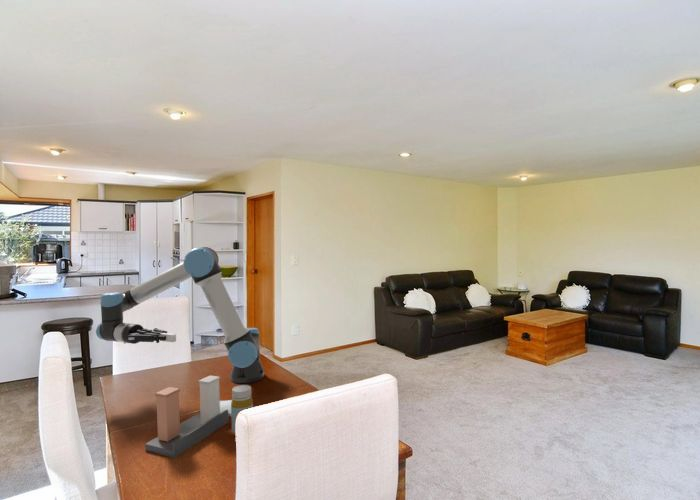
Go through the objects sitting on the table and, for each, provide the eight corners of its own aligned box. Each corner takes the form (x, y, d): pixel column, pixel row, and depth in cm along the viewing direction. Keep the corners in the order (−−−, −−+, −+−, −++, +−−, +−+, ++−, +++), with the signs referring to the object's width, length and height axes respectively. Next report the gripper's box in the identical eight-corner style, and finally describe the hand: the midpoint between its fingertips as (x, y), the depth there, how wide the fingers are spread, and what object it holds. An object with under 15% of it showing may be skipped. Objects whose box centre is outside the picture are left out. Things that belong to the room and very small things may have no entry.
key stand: (201, 416, 143) (201, 404, 143) (228, 422, 139) (228, 409, 139) (145, 450, 121) (144, 436, 121) (174, 457, 117) (174, 443, 117)
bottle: (231, 439, 127) (230, 393, 127) (232, 429, 134) (230, 385, 133) (254, 435, 129) (252, 390, 128) (253, 425, 136) (251, 383, 135)
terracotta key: (170, 431, 128) (169, 386, 128) (181, 433, 126) (179, 388, 126) (157, 439, 123) (155, 393, 123) (167, 442, 121) (165, 395, 121)
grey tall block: (211, 416, 138) (209, 375, 138) (221, 418, 136) (219, 376, 136) (199, 423, 133) (198, 380, 133) (210, 425, 131) (208, 382, 131)
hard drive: (230, 413, 143) (236, 399, 156) (207, 415, 142) (214, 400, 155) (230, 418, 143) (236, 403, 156) (207, 419, 142) (214, 404, 155)
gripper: (144, 338, 162) (188, 343, 153) (114, 347, 150) (160, 353, 141) (143, 320, 162) (187, 324, 153) (114, 327, 150) (159, 332, 141)
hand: (174, 338), depth 147 cm, fingers closed
